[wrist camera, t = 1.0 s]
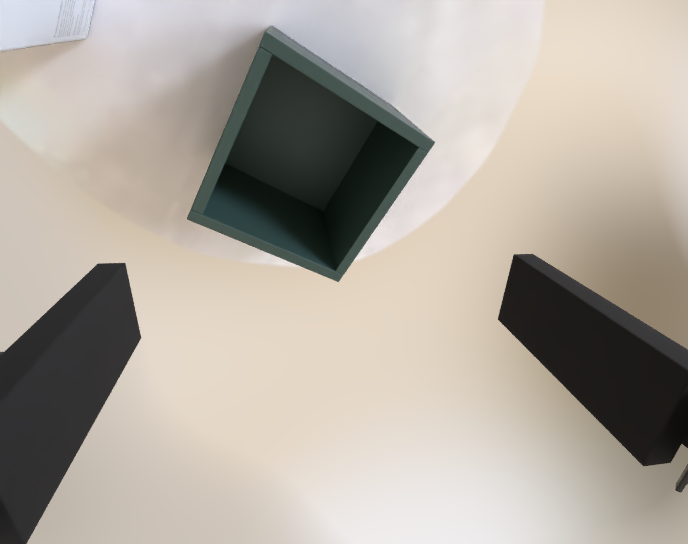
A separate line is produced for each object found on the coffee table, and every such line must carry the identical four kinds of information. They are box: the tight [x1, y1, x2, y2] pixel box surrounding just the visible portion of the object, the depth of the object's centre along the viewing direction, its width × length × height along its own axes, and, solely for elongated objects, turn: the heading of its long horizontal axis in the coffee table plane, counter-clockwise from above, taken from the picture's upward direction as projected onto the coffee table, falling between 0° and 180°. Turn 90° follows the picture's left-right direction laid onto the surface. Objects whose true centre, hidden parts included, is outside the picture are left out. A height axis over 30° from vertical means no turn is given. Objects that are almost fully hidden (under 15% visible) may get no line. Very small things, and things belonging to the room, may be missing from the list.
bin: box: [187, 26, 435, 282], centre depth 30 cm, size 13×12×12 cm
